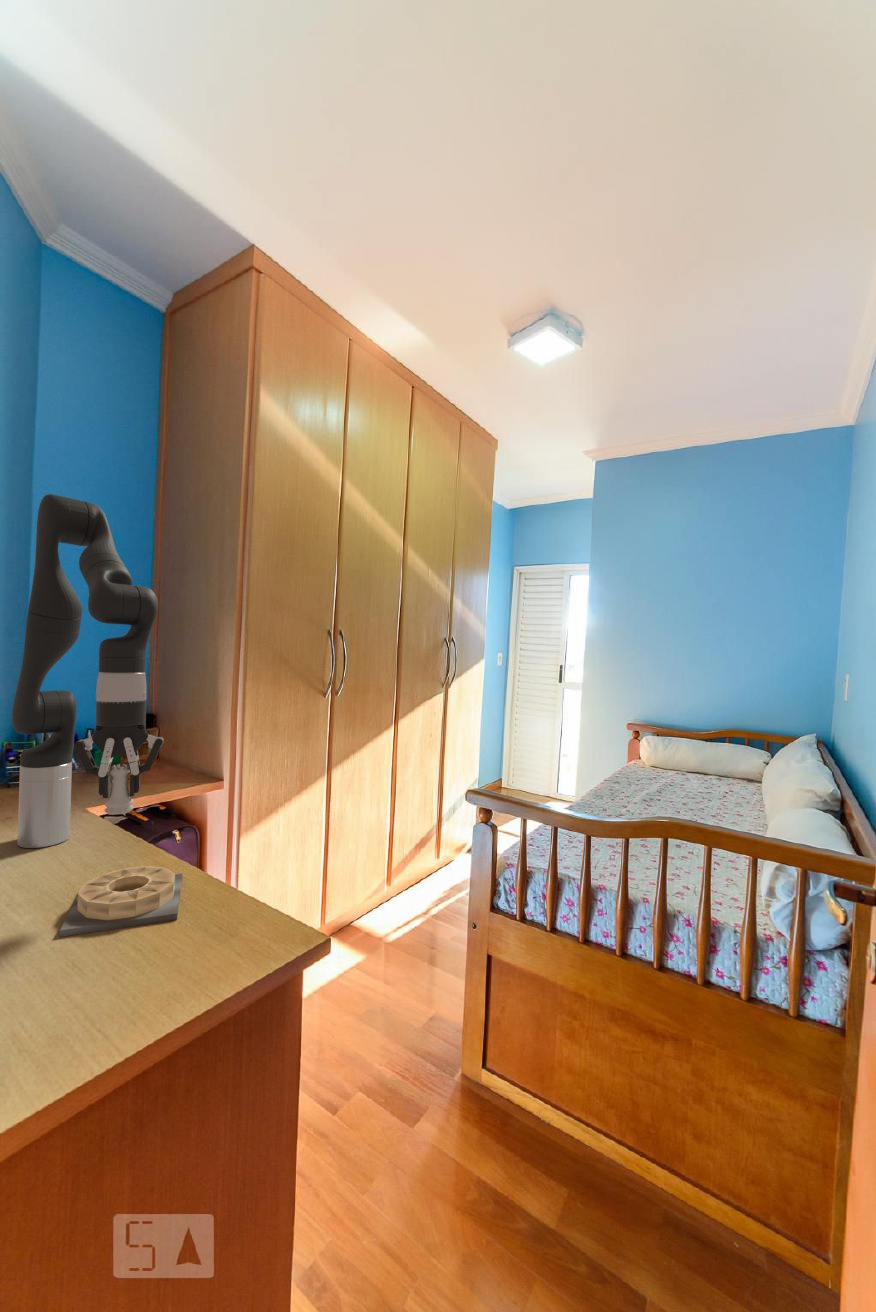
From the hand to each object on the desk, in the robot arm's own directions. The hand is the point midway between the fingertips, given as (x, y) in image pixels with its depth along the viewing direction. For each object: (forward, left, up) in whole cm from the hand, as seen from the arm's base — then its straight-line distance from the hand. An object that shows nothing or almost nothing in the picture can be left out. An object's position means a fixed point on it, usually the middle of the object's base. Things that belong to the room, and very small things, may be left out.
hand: (119, 795), depth 92 cm
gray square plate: (+3, +2, -18) cm, 18 cm away
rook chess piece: (0, 0, -3) cm, 3 cm away
